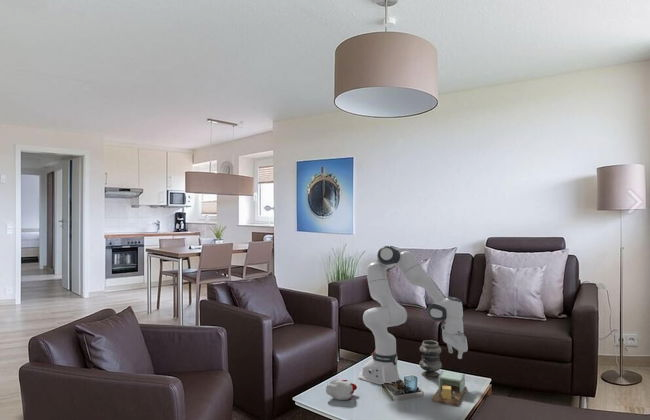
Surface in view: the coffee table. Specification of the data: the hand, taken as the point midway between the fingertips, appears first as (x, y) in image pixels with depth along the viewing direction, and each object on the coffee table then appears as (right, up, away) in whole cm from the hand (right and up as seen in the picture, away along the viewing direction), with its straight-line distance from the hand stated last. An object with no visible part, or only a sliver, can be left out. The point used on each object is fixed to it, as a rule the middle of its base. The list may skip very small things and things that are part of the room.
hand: (455, 355), depth 218 cm
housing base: (-7, -15, -12) cm, 20 cm away
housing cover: (-4, -14, -8) cm, 16 cm away
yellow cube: (-9, -14, -17) cm, 24 cm away
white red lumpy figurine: (-58, -16, -14) cm, 62 cm away
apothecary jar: (-9, -16, +14) cm, 23 cm away
